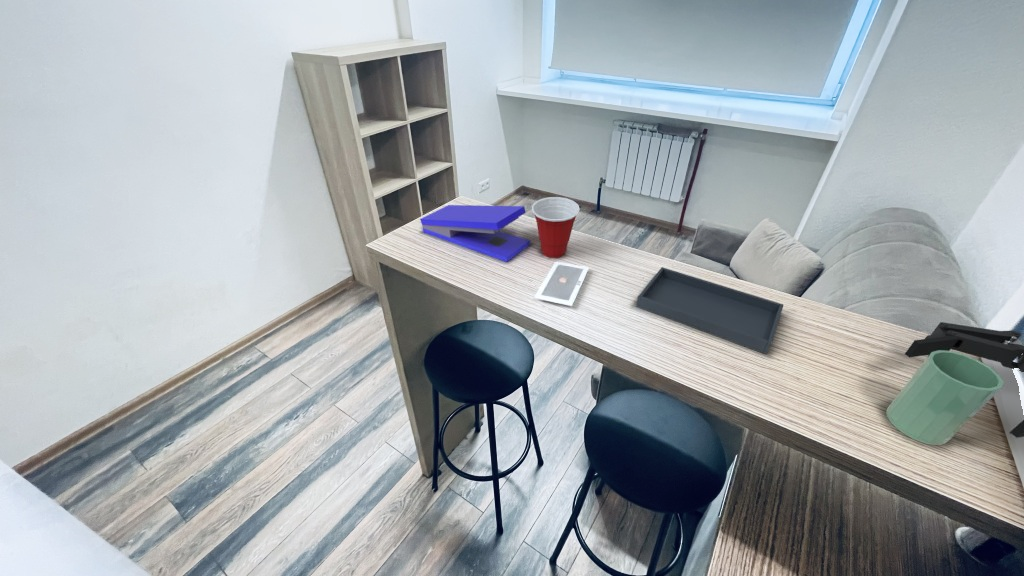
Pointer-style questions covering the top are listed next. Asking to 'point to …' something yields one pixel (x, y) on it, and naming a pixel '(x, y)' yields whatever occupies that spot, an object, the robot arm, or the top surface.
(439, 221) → the stapler
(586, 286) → the top surface
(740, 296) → the tray
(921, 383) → the tumbler
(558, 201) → the plastic cup
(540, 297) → the touchpad
